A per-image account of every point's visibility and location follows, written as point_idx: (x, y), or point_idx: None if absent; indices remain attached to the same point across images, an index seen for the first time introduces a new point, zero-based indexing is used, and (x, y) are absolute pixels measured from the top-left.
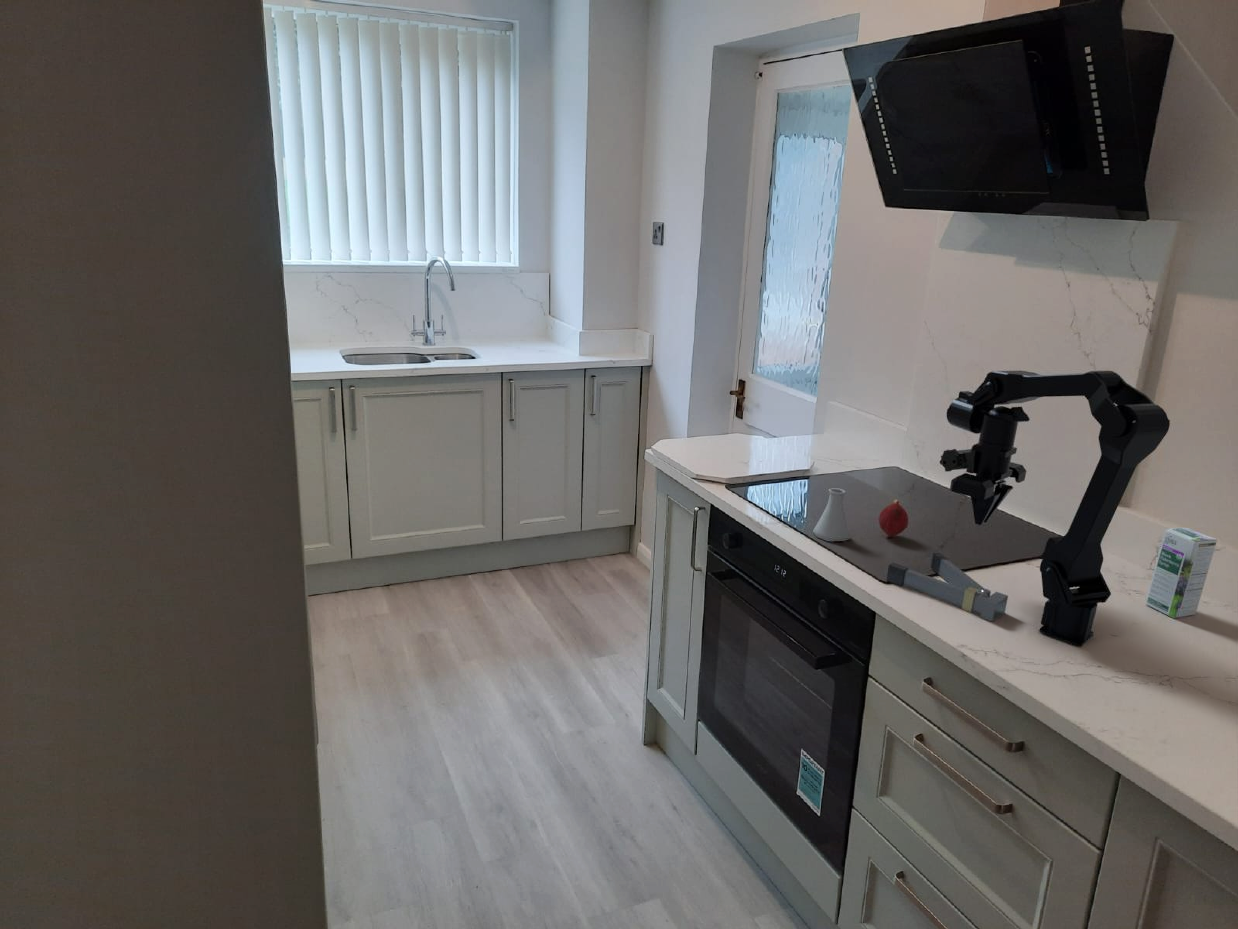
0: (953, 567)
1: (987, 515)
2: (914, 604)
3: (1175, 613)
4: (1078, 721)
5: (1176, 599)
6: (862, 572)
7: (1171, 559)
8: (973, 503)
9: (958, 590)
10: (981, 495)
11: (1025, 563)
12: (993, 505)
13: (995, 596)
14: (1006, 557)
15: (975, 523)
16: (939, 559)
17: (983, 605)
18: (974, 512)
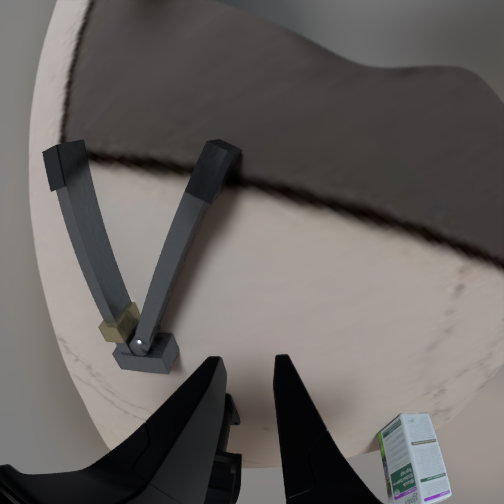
0: (171, 246)
1: (217, 433)
2: (58, 245)
3: (378, 439)
4: (92, 417)
5: (382, 452)
6: (62, 91)
7: (402, 483)
8: (128, 445)
9: (99, 309)
10: (22, 501)
11: (462, 265)
12: (203, 496)
13: (142, 362)
14: (468, 223)
15: (209, 357)
16: (189, 181)
17: (116, 348)
18: (169, 402)
